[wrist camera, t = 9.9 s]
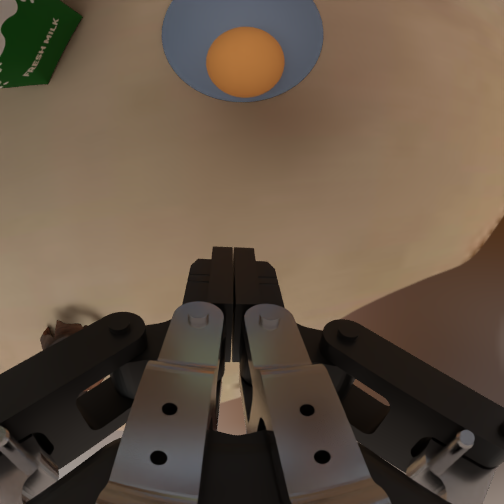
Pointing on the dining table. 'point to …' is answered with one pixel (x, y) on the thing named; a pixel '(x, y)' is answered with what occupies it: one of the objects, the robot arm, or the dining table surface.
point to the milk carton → (33, 39)
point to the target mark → (232, 16)
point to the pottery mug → (60, 334)
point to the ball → (245, 62)
